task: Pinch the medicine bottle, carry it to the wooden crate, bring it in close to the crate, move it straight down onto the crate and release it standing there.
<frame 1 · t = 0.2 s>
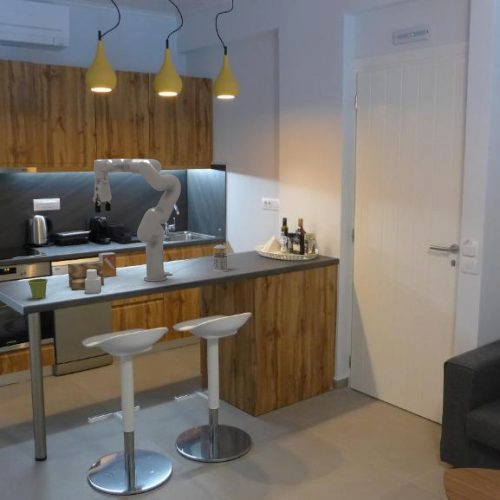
hand: (103, 211, 352), 37 cm above the breakfast bar, tool pointing down, fingers open, 9 cm apart
plant pot: (39, 298, 307), on the breakfast bar
small box: (108, 275, 358), on the breakfast bar
wooden crate: (86, 285, 332), on the breakfast bar
french press: (221, 270, 371), on the breakfast bar
medicine bottle: (93, 292, 318), on the breakfast bar
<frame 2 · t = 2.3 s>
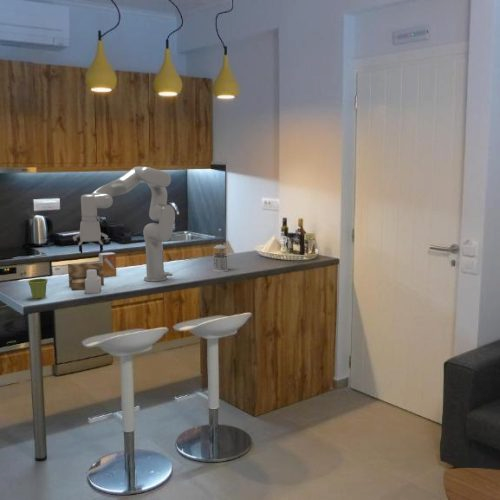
hand: (91, 252, 315), 20 cm above the breakfast bar, tool pointing down, fingers open, 9 cm apart
nothing on the breakfast bar moved.
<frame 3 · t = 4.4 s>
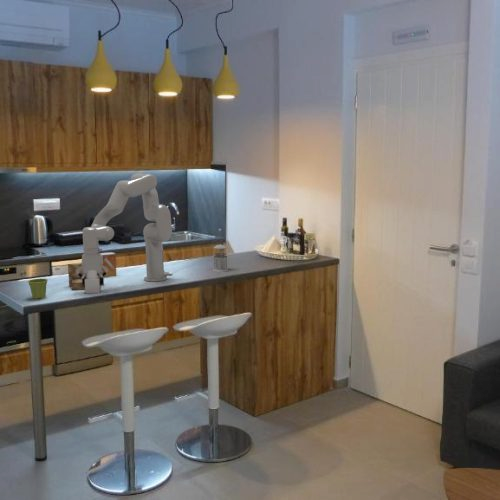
hand: (92, 285, 317), 3 cm above the breakfast bar, tool pointing down, fingers closed on medicine bottle, 7 cm apart
medicine bottle: (93, 292, 318), on the breakfast bar, touching gripper
everything else where it was.
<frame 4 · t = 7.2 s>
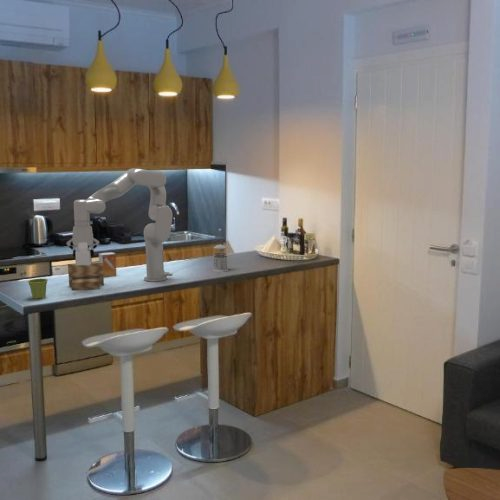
hand: (83, 257, 320), 17 cm above the breakfast bar, tool pointing down, fingers closed on medicine bottle, 7 cm apart
medicine bottle: (83, 264, 320), point 13 cm above the breakfast bar, touching gripper
everything else where it was.
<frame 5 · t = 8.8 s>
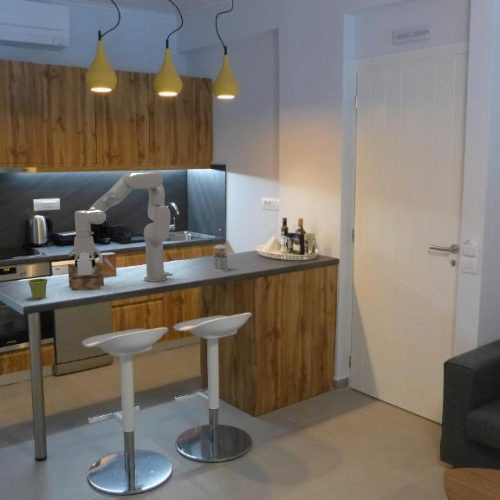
hand: (85, 267, 325), 11 cm above the breakfast bar, tool pointing down, fingers closed on medicine bottle, 7 cm apart
medicine bottle: (85, 274, 325), point 7 cm above the breakfast bar, touching gripper
everything else where it was.
when the fingers open (9 cm above the breakfast bar, at t = 9.9 s): medicine bottle drops 1 cm, resting on wooden crate.
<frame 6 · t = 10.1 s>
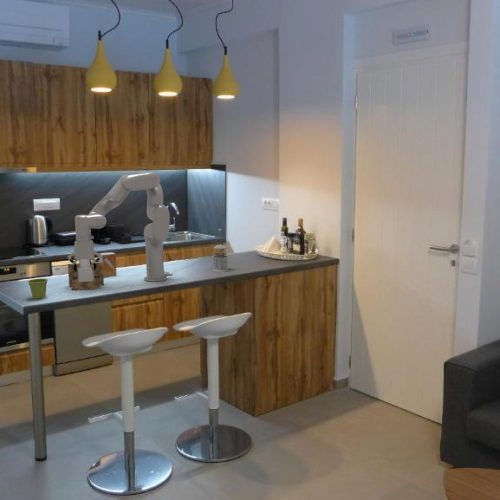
hand: (85, 271, 325), 9 cm above the breakfast bar, tool pointing down, fingers open, 9 cm apart
medicine bottle: (86, 280, 326), point 4 cm above the breakfast bar, touching wooden crate
everything else where it was.
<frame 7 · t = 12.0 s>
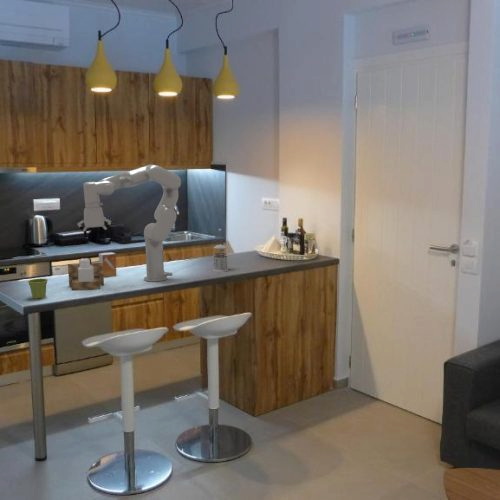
hand: (95, 237, 327), 26 cm above the breakfast bar, tool pointing down, fingers open, 9 cm apart
nothing on the breakfast bar moved.
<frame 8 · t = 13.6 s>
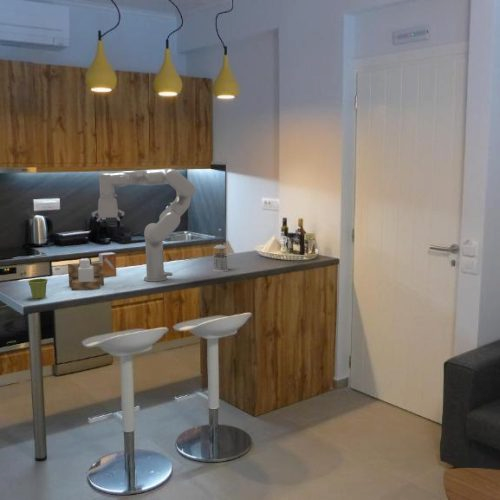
hand: (108, 228, 332), 30 cm above the breakfast bar, tool pointing down, fingers open, 9 cm apart
nothing on the breakfast bar moved.
at the end: medicine bottle inside the target area on the wooden crate (0.4 cm from its centre), point 3.8 cm above the wooden crate's base; medicine bottle touching wooden crate; medicine bottle tilted 0° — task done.
